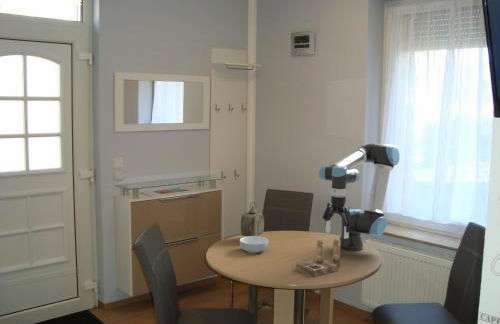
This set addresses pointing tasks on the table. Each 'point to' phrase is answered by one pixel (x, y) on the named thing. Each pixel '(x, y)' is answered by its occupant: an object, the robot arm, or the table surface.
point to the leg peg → (336, 252)
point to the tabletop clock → (252, 223)
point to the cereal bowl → (253, 244)
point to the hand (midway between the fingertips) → (336, 235)
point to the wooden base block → (317, 264)
